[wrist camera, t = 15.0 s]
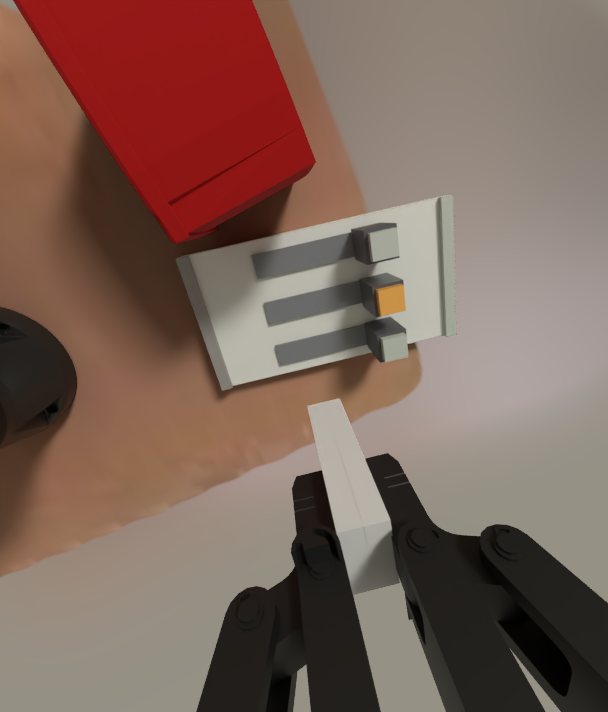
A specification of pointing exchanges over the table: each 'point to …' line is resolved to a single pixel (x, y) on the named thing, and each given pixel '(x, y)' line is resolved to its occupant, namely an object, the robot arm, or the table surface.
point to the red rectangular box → (179, 101)
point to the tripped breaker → (382, 294)
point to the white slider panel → (323, 291)
